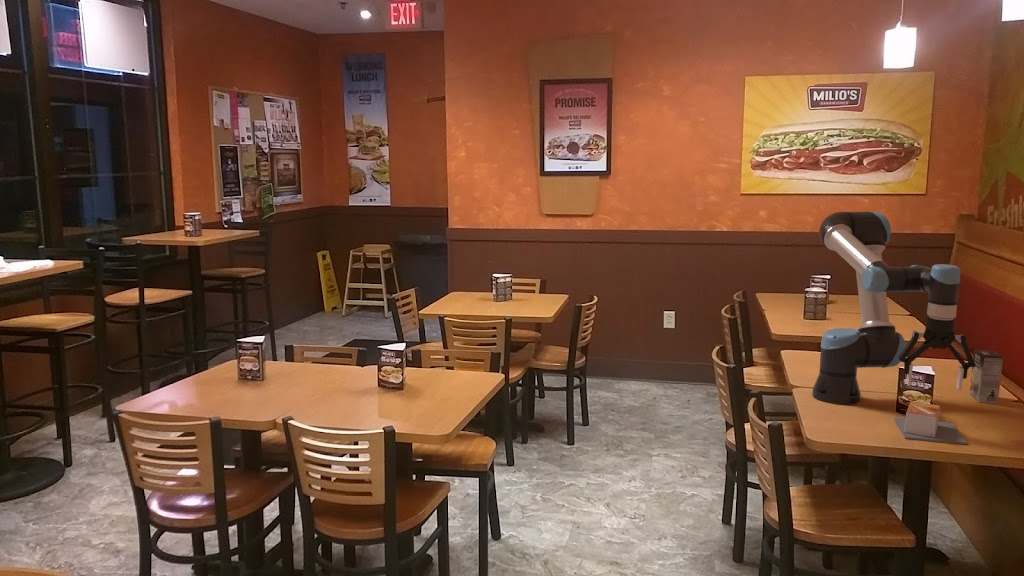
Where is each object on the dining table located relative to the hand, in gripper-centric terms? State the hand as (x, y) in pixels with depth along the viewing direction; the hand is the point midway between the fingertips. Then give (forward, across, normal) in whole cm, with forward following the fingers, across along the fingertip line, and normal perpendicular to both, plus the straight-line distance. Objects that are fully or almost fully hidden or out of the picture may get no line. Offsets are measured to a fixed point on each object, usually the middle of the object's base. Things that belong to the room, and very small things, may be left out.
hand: (933, 386), depth 236 cm
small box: (+9, +1, -3) cm, 10 cm away
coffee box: (+14, -24, -38) cm, 47 cm away
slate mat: (+13, +1, +4) cm, 13 cm away
